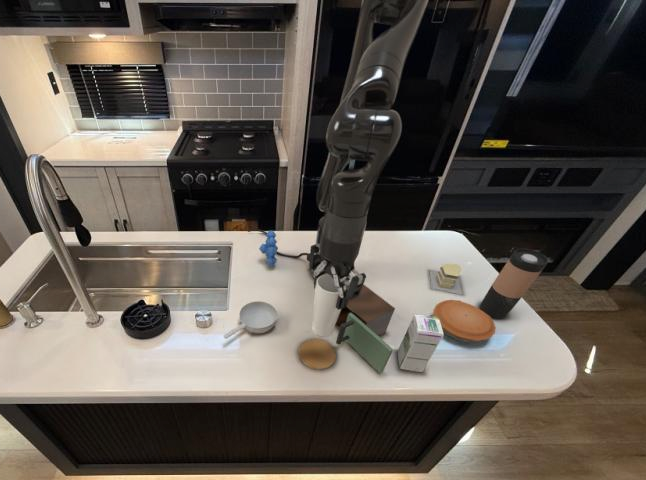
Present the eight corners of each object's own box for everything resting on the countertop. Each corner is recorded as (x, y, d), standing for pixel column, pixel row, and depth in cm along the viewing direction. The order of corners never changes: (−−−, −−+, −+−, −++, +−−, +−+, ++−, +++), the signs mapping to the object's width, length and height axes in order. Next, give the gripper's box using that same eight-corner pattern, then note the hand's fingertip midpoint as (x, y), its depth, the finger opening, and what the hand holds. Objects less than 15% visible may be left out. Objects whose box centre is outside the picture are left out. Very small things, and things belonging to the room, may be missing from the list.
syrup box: (423, 373, 79) (446, 334, 69) (398, 369, 80) (418, 330, 70) (419, 355, 83) (440, 316, 73) (395, 351, 84) (413, 313, 74)
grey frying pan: (284, 322, 92) (285, 313, 89) (238, 357, 82) (238, 348, 80) (258, 304, 97) (258, 295, 95) (212, 335, 88) (211, 326, 85)
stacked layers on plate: (461, 294, 101) (469, 281, 97) (431, 288, 103) (438, 275, 99) (457, 276, 108) (465, 263, 104) (429, 271, 110) (435, 258, 106)
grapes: (258, 253, 118) (258, 224, 110) (276, 252, 118) (277, 224, 110) (259, 272, 110) (259, 242, 102) (278, 271, 110) (280, 242, 102)
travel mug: (507, 308, 96) (548, 253, 82) (506, 323, 91) (549, 268, 78) (479, 299, 99) (514, 245, 85) (476, 313, 94) (513, 258, 81)
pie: (480, 358, 82) (489, 346, 79) (420, 328, 90) (427, 316, 86) (495, 326, 90) (504, 314, 87) (440, 301, 98) (446, 289, 95)
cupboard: (320, 312, 95) (325, 286, 88) (345, 300, 99) (352, 275, 92) (358, 348, 85) (367, 322, 78) (384, 333, 88) (395, 308, 82)
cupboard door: (330, 342, 85) (336, 319, 79) (344, 335, 87) (351, 312, 81) (368, 380, 76) (378, 358, 70) (383, 372, 78) (393, 349, 72)
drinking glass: (319, 344, 73) (329, 297, 63) (302, 325, 78) (310, 278, 68) (342, 334, 76) (355, 287, 66) (325, 316, 80) (335, 269, 70)
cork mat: (291, 349, 84) (291, 348, 84) (319, 335, 88) (319, 334, 88) (313, 375, 78) (314, 374, 78) (343, 359, 82) (343, 358, 82)
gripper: (386, 243, 55) (365, 311, 66) (332, 211, 64) (321, 275, 76) (355, 256, 52) (337, 324, 64) (303, 220, 62) (296, 285, 73)
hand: (329, 297), depth 70 cm, fingers closed on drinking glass, 7 cm apart
